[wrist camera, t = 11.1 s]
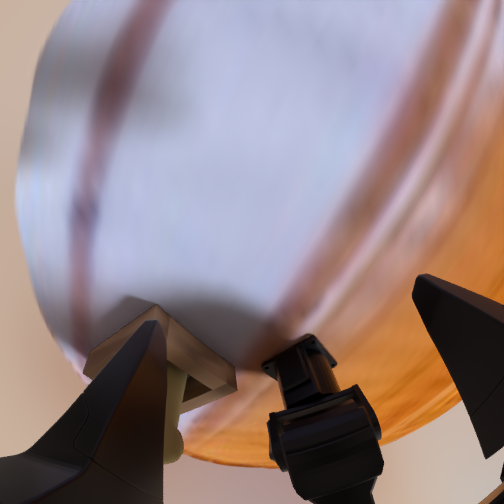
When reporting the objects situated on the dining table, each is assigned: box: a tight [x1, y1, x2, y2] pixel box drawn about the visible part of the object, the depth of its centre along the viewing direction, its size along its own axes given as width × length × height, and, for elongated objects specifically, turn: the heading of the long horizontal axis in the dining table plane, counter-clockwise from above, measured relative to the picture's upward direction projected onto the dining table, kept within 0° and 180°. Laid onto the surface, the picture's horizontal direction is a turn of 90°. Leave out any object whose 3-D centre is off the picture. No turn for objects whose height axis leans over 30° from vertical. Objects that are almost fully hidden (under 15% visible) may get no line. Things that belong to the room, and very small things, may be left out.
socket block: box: [83, 304, 238, 414], centre depth 24 cm, size 11×11×3 cm
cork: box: [163, 360, 188, 464], centre depth 21 cm, size 6×6×11 cm
